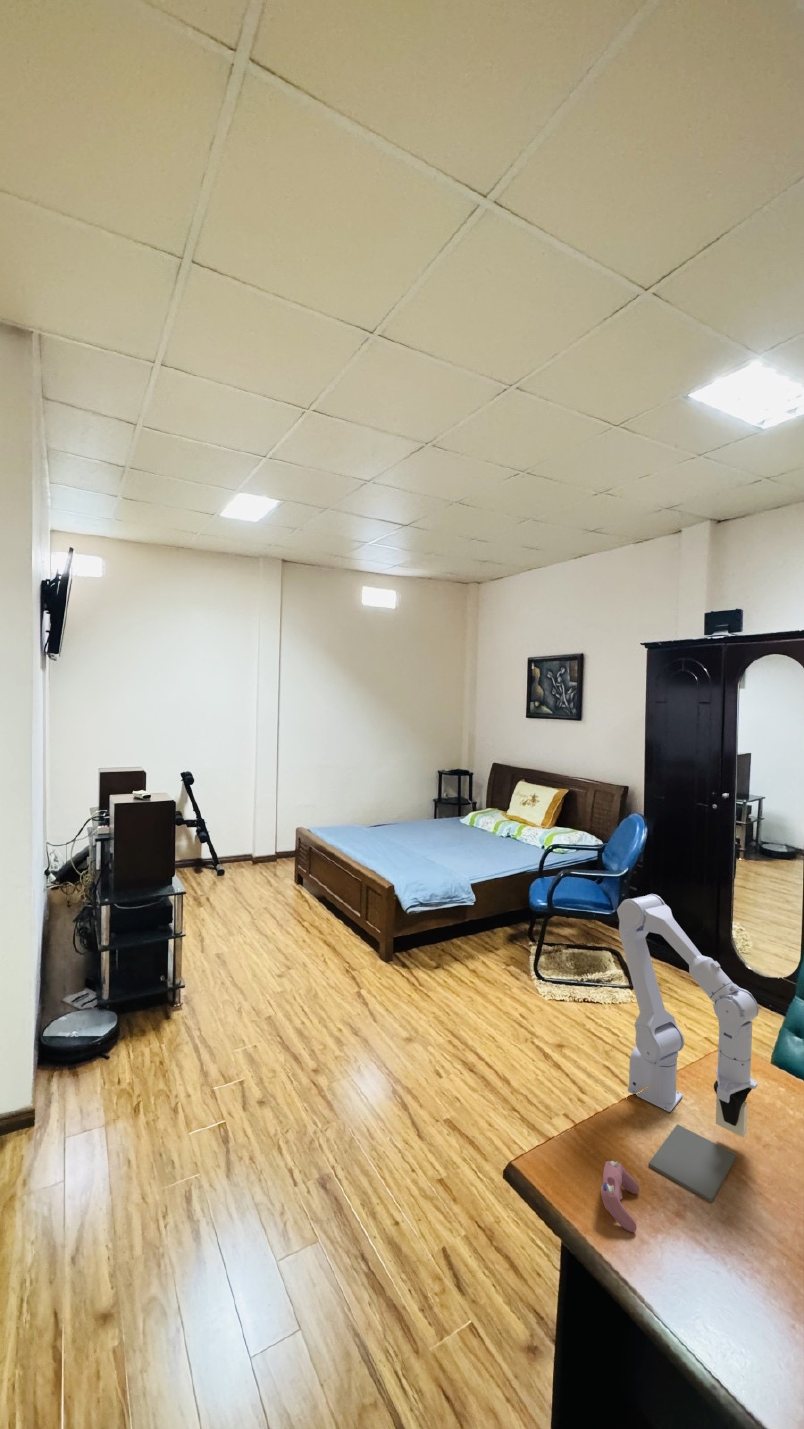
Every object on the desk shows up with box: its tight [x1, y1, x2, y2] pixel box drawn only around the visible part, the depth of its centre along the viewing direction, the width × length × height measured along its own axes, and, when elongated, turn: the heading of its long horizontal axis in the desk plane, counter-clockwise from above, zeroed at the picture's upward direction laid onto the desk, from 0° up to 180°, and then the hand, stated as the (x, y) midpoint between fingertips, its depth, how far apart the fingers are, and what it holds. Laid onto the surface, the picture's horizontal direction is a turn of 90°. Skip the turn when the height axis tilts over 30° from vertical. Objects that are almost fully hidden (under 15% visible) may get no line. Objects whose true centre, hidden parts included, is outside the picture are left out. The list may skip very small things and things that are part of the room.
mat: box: [648, 1123, 737, 1203], centre depth 108 cm, size 11×15×1 cm
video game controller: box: [600, 1160, 640, 1233], centre depth 98 cm, size 10×5×7 cm, turn 154°
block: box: [715, 1096, 748, 1138], centre depth 113 cm, size 5×2×6 cm, turn 44°
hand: (732, 1119), depth 113 cm, fingers closed on block, 2 cm apart
